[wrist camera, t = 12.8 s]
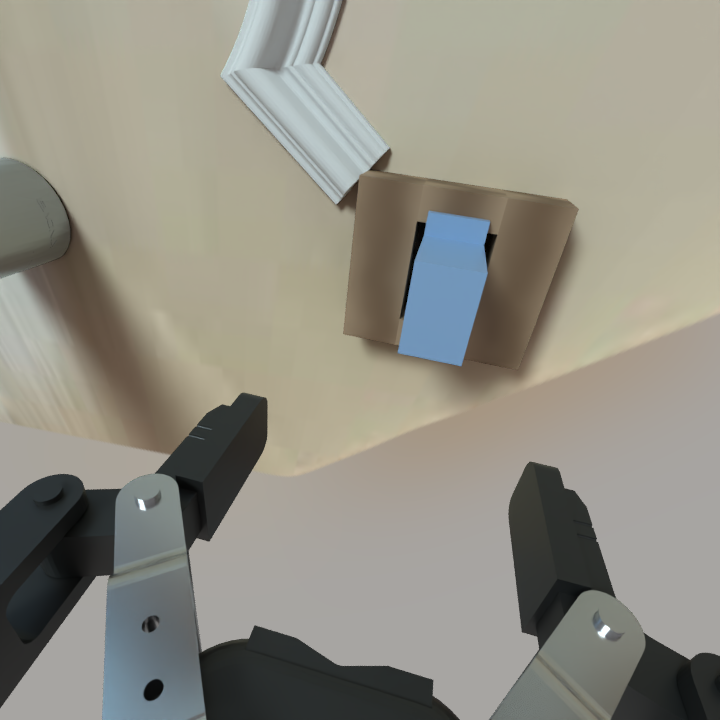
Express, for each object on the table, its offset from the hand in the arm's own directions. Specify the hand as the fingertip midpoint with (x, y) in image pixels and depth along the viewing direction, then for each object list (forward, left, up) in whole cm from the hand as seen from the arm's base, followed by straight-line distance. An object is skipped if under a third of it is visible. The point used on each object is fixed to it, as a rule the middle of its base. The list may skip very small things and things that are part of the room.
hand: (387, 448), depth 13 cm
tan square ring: (+1, -1, -23) cm, 23 cm away
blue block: (+1, -1, -23) cm, 23 cm away
